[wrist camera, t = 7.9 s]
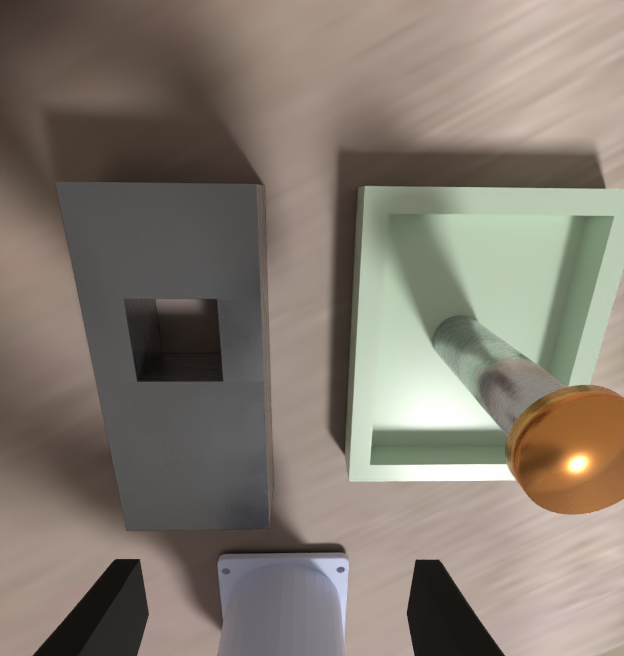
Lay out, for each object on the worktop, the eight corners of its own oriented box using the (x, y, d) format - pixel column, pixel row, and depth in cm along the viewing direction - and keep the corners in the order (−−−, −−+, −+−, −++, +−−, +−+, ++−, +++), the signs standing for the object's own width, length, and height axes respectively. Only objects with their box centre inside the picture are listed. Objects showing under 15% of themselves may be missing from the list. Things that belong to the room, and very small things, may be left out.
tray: (538, 454, 21) (562, 479, 19) (344, 455, 21) (348, 481, 19) (606, 190, 16) (646, 189, 14) (357, 187, 16) (364, 186, 14)
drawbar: (273, 484, 21) (269, 529, 18) (150, 486, 21) (126, 530, 18) (264, 186, 16) (256, 184, 13) (99, 184, 16) (54, 181, 13)
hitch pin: (488, 372, 19) (637, 513, 10) (416, 372, 19) (509, 515, 10) (500, 302, 17) (680, 399, 9) (424, 303, 17) (535, 401, 9)
